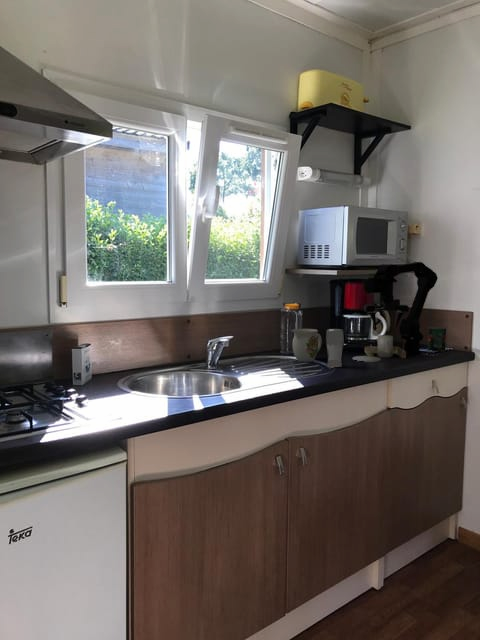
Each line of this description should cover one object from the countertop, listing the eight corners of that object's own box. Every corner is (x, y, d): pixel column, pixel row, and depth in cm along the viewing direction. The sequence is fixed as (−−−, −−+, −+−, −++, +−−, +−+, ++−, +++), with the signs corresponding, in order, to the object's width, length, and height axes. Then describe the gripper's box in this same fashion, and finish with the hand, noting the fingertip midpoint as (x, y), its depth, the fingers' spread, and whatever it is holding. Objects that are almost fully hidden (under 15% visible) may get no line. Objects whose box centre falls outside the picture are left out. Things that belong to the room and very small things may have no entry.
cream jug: (375, 354, 251) (376, 335, 250) (390, 354, 251) (391, 335, 250) (380, 358, 242) (380, 337, 241) (395, 358, 242) (395, 337, 241)
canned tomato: (424, 349, 265) (425, 326, 264) (439, 348, 267) (439, 326, 266) (434, 352, 258) (435, 328, 256) (448, 351, 259) (449, 328, 258)
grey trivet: (377, 357, 244) (377, 356, 244) (383, 362, 232) (383, 360, 232) (350, 357, 244) (350, 355, 244) (355, 362, 232) (355, 360, 232)
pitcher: (330, 359, 239) (330, 328, 237) (301, 364, 227) (302, 331, 226) (311, 356, 247) (311, 325, 245) (282, 361, 235) (283, 329, 234)
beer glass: (336, 364, 227) (336, 328, 226) (346, 367, 221) (347, 330, 220) (322, 365, 224) (322, 329, 223) (332, 368, 218) (333, 331, 216)
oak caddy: (397, 353, 255) (398, 346, 255) (405, 358, 241) (406, 351, 240) (364, 352, 255) (364, 346, 255) (370, 358, 241) (370, 351, 241)
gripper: (368, 293, 237) (368, 329, 238) (412, 293, 236) (411, 329, 238) (363, 292, 248) (363, 326, 250) (405, 292, 247) (404, 326, 249)
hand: (385, 327), depth 246 cm, fingers open, 9 cm apart
